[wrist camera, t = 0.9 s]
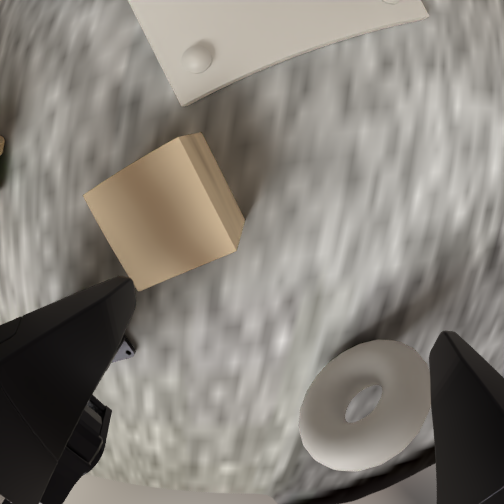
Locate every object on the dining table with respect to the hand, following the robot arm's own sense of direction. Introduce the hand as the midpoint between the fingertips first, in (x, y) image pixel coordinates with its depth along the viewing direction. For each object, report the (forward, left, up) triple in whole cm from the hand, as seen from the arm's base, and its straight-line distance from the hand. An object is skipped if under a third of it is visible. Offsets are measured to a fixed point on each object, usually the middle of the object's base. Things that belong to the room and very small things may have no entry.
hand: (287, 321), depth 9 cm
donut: (0, -13, -12) cm, 18 cm away
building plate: (+5, +16, -12) cm, 21 cm away
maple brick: (-5, +3, -12) cm, 14 cm away
